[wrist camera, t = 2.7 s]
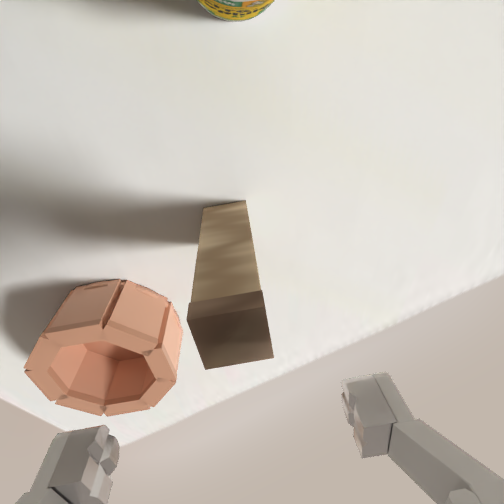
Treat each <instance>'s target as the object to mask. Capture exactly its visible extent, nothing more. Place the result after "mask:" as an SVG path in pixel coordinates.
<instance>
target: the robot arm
mask: <svg viewBox="0 0 504 504" xmlns="http://www.w3.org/2000/svg"><path fill="white" fill-rule="evenodd" d="M342 388H343V391H344V392H343V393H342V403H343V408H344V411H345V415H346V418H347V420H348V423H349V424H350V425H352V426H353V427H354V436H353V437H354V439H355V442H356V445H357V447H358V450H359V452H360V455H361V457H362V458H366V457H372V456H379V455H385V454H388V456H389V457H390V458H391V459H392V460H393V461H394V462H395V463H396V464H397V465H398V466H399V467H400V468H401V469H402V470H403V471H404V472H405V473H406V474H407V475H408V476H409V477H410V478H411V479H412V480H413V481H415V483H416V484H417V485H418V486H419V487H420V488H421V489H422V490H423V491H424V492H425V493H426V494H427V495H428V496H429V497H430V498H431V499H433V501H435V502H436V503H437V504H504V479H503V478H501V477H500V476H498V475H497V474H496V473H494V472H493V471H491V470H490V469H489V468H487V467H486V466H485V465H483V464H482V463H480V462H479V461H478V460H476V459H475V458H473V457H472V456H471V455H469V454H468V453H467V452H465V451H464V450H462V449H461V448H459V447H458V446H457V445H455V444H454V443H453V442H451V441H450V440H448V439H447V438H446V437H444V436H443V435H442V434H440V433H439V432H437V431H436V430H435V429H433V428H432V427H430V426H429V425H427V424H426V423H425V422H424V421H422V420H421V419H415V418H414V417H413V415H412V413H411V411H410V410H409V408H408V406H407V404H406V403H405V401H404V399H403V397H402V396H401V394H400V392H399V390H398V389H397V387H396V385H395V383H394V382H393V380H392V379H391V376H390V375H389V374H388V373H387V372H380V373H375V374H369V375H364V376H359V377H354V378H349V379H345V380H342ZM108 433H109V429H108V427H107V426H106V425H101V426H96V427H91V428H85V429H80V430H73V431H68V432H63V433H58V434H57V435H56V436H55V438H54V439H53V441H52V443H51V445H50V447H49V449H48V452H47V454H46V456H45V458H44V461H43V463H42V465H41V467H40V470H39V472H38V474H37V476H36V479H35V481H34V483H33V485H32V487H31V489H30V492H27V493H24V495H22V497H21V498H20V499H19V500H18V501H17V502H16V503H15V504H107V502H108V499H109V495H110V491H111V487H112V483H113V482H112V479H111V476H110V474H111V473H112V472H113V471H114V469H115V468H116V467H117V462H118V459H119V444H118V441H117V439H116V438H115V437H114V436H111V435H109V434H108Z"/></svg>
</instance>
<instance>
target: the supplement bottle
mask: <svg viewBox="0 0 504 504" xmlns="http://www.w3.org/2000/svg"><path fill="white" fill-rule="evenodd" d="M197 1H198V2H199V4H200V5H201V6H202V7H203V8H204V9H206V10H207V11H208V12H209V13H210V14H212V15H213V16H215V17H217V18H220V19H223V20H226V21H235V22H239V21H245V20H249V19H252V18H254V17H256V16H258V15H259V14H261V13H262V12H263V11H265V10H266V9H267V8H268V7H269V6H270V5H271V4H272V3H273V2H274V0H197Z"/></svg>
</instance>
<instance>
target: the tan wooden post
mask: <svg viewBox="0 0 504 504" xmlns="http://www.w3.org/2000/svg"><path fill="white" fill-rule="evenodd" d="M187 322H188V325H189V328H190V330H191V333H192V336H193V338H194V341H195V344H196V346H197V349H198V352H199V354H200V357H201V360H202V362H203V365H204V368H205V370H206V369H212V368H218V367H224V366H230V365H236V364H241V363H247V362H253V361H259V360H265V359H270V358H274V355H273V350H272V344H271V338H270V333H269V327H268V321H267V316H266V310H265V304H264V299H263V293H262V290H261V286H260V280H259V274H258V268H257V263H256V257H255V251H254V245H253V239H252V233H251V228H250V222H249V217H248V211H247V205H246V200H245V201H240V202H234V203H229V204H223V205H217V206H212V207H206V208H203V215H202V222H201V230H200V237H199V244H198V252H197V259H196V267H195V274H194V281H193V289H192V296H191V303H189V307H188V314H187Z"/></svg>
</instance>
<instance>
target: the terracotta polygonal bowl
mask: <svg viewBox="0 0 504 504" xmlns="http://www.w3.org/2000/svg"><path fill="white" fill-rule="evenodd" d="M182 334H183V330H182V327H181V325H180V320H179V317H178V315H177V313H176V311H175V309H174V307H173V305H172V302H168V301H167V298H166V297H164V296H162V295H159V294H158V293H156V292H154V291H152V290H150V289H148V288H146V287H143V286H141V285H137V284H135V283H133V282H131V281H128V280H127V281H126V282H124V281H121V280H120V279H117V280H112V281H101V282H95V283H91V284H88V285H83V286H78V287H76V288H75V290H71V291H70V293H69V294H68V296H67V297H66V299H65V300H64V302H63V303H62V305H61V306H60V308H59V309H58V311H57V312H56V314H55V315H54V317H53V318H52V320H51V321H50V323H49V324H48V326H47V327H46V329H45V330H44V331H43V333H42V334H41V336H40V337H39V339H38V341H37V343H36V345H35V347H34V349H33V350H32V352H31V354H30V356H29V358H28V360H27V362H26V364H25V366H24V368H25V369H26V370H25V371H24V372H25V373H26V375H27V376H28V377H29V378H30V379H31V380H32V381H33V382H34V384H35V385H36V386H37V387H38V388H39V389H40V390H41V391H42V393H43V394H44V395H45V396H46V397H47V398H48V399H49V400H50V401H54V400H57V401H56V403H55V404H58V405H61V406H65V407H69V408H72V409H76V410H80V411H84V412H87V413H91V414H95V415H98V416H102V414H103V413H104V414H105V415H106V416H113V415H118V414H124V413H130V412H136V411H142V410H148V409H150V406H152V407H155V405H156V404H157V403H158V402H159V401H160V400H161V399H162V398H163V397H164V395H165V394H166V393H167V392H168V391H169V390H170V389H171V388H172V387H173V385H174V384H175V383H176V378H177V368H178V361H179V355H180V348H181V341H182Z"/></svg>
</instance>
